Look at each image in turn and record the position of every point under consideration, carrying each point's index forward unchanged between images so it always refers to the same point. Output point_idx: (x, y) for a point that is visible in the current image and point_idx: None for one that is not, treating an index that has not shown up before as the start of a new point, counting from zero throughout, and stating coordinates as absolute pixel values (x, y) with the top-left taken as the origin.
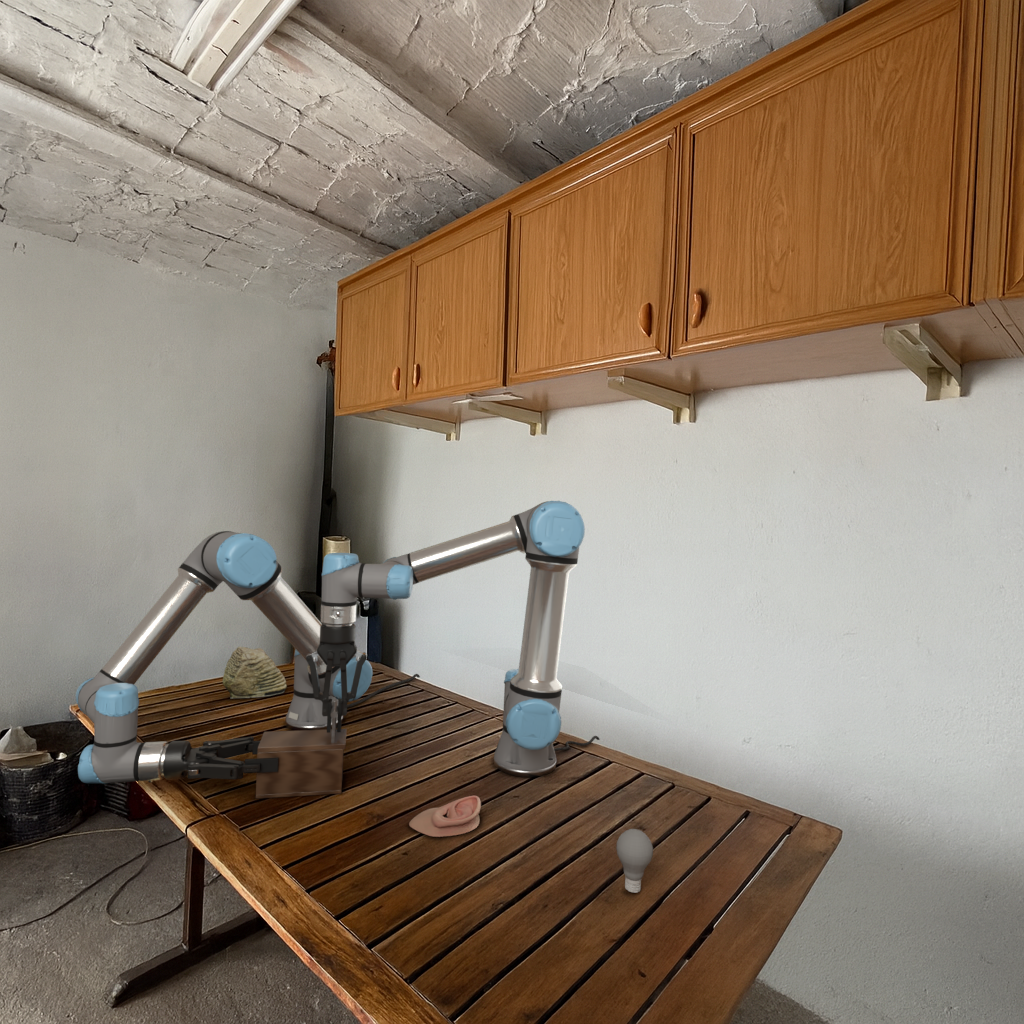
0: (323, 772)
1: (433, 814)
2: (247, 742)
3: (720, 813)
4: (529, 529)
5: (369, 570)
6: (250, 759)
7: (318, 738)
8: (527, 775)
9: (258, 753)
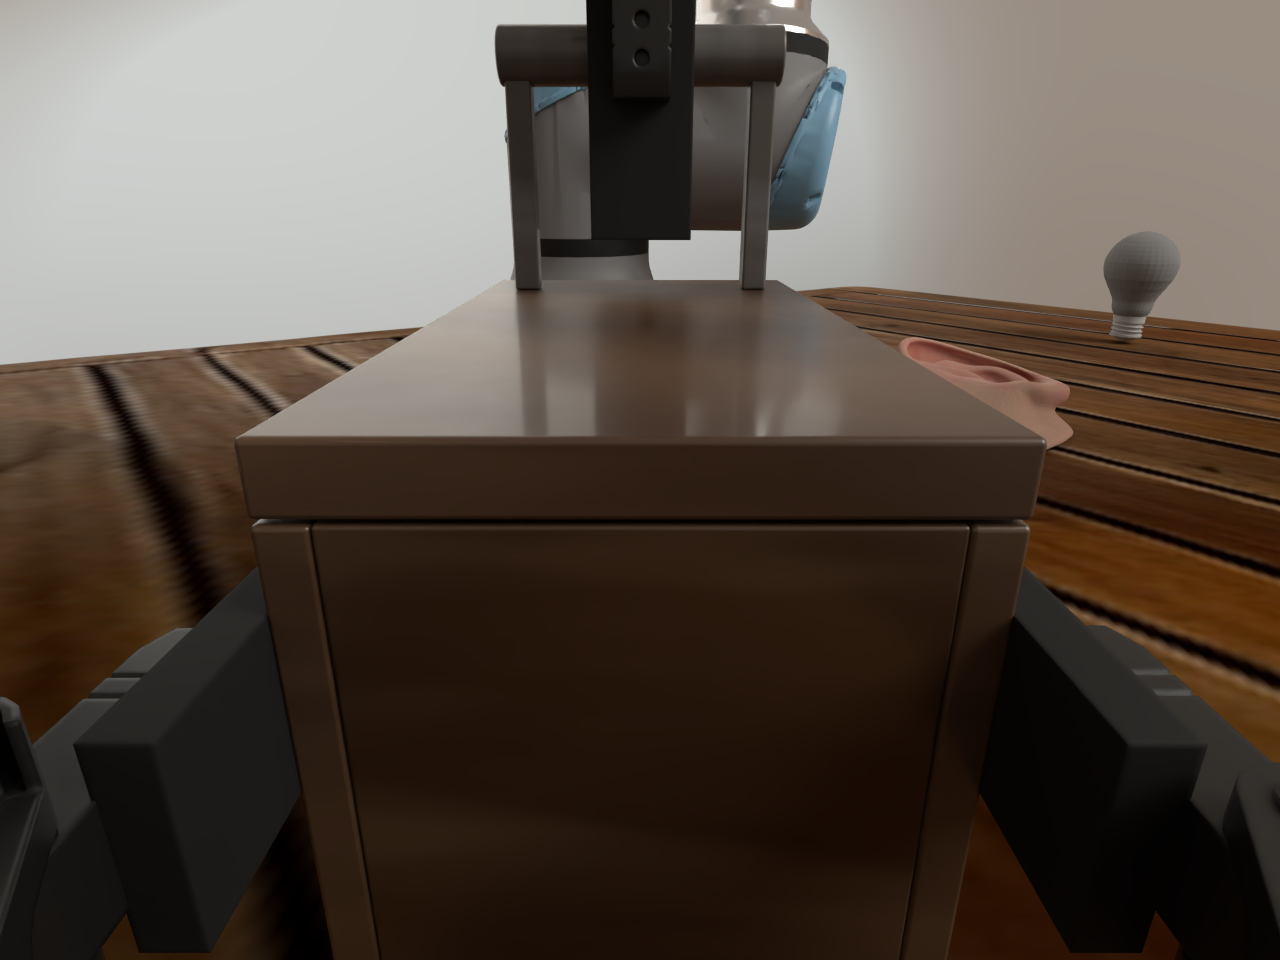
0: None
1: (1025, 386)
2: (17, 857)
3: (823, 302)
4: None
5: None
6: (1104, 676)
7: (671, 301)
8: None
9: (1019, 531)
